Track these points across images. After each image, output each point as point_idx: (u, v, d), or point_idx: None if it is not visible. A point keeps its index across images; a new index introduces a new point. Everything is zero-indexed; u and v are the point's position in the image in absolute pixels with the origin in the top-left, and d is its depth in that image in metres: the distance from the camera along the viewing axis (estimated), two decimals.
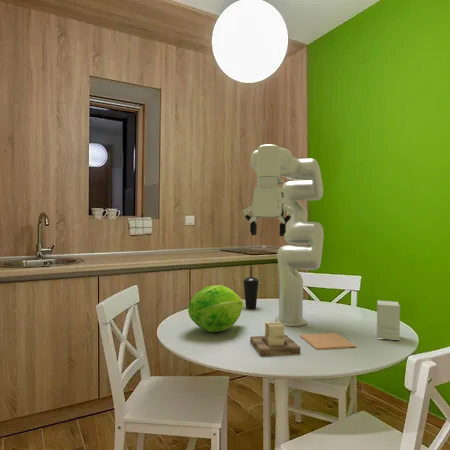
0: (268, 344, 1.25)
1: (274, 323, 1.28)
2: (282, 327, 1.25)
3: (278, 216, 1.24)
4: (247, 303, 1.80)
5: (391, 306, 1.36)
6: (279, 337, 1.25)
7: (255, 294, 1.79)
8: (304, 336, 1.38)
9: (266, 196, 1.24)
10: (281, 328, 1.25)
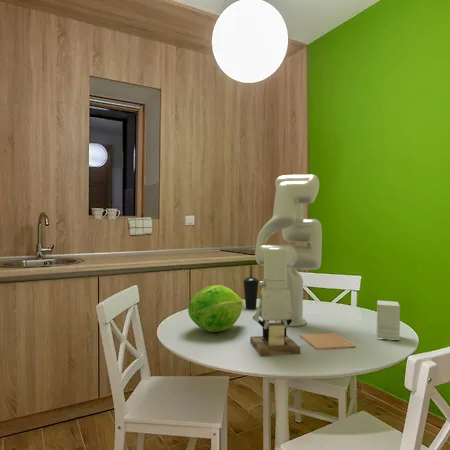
0: (268, 344, 1.25)
1: (274, 323, 1.28)
2: (282, 327, 1.25)
3: None
4: (247, 303, 1.80)
5: (391, 306, 1.36)
6: (279, 337, 1.25)
7: (255, 294, 1.79)
8: (304, 336, 1.38)
9: None
10: (281, 328, 1.25)
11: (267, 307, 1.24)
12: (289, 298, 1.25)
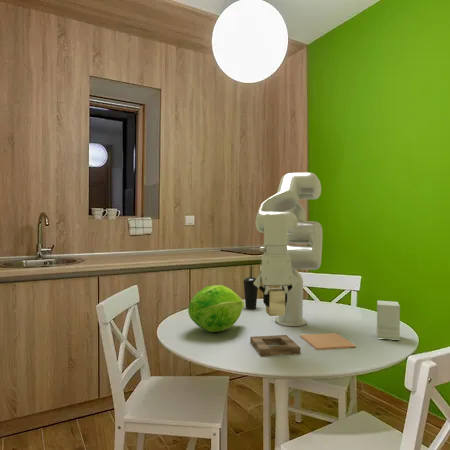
0: (269, 309, 1.26)
1: (274, 289, 1.28)
2: (283, 292, 1.25)
3: None
4: (247, 303, 1.80)
5: (391, 306, 1.36)
6: (280, 302, 1.25)
7: (255, 294, 1.79)
8: (304, 336, 1.38)
9: None
10: (281, 294, 1.25)
11: (268, 272, 1.24)
12: (290, 263, 1.25)
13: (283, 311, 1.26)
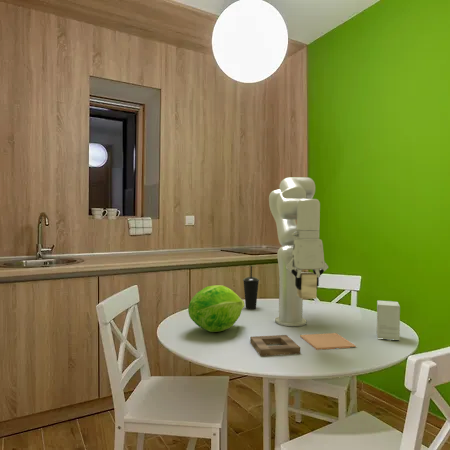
0: (301, 292, 1.29)
1: (306, 273, 1.32)
2: (315, 276, 1.29)
3: None
4: (247, 303, 1.80)
5: (391, 306, 1.36)
6: (312, 285, 1.29)
7: (255, 294, 1.79)
8: (304, 336, 1.38)
9: None
10: (313, 277, 1.29)
11: (300, 256, 1.28)
12: (322, 248, 1.29)
13: (315, 294, 1.29)
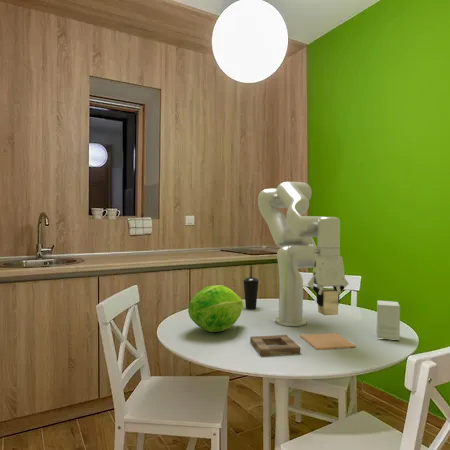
0: (323, 309, 1.31)
1: (327, 289, 1.34)
2: (336, 292, 1.31)
3: None
4: (247, 303, 1.80)
5: (391, 306, 1.36)
6: (334, 302, 1.31)
7: (255, 294, 1.79)
8: (304, 336, 1.38)
9: None
10: (335, 294, 1.31)
11: (322, 273, 1.30)
12: (342, 265, 1.32)
13: (336, 311, 1.31)
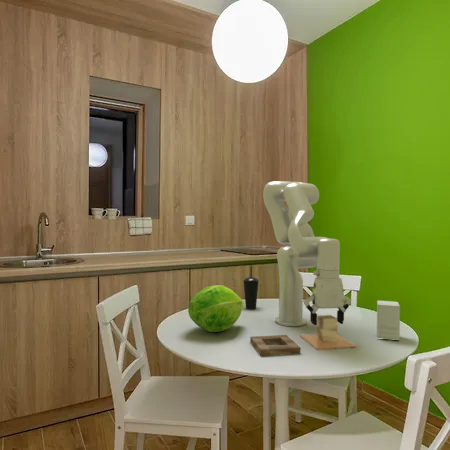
0: (322, 336, 1.32)
1: (326, 316, 1.35)
2: (335, 320, 1.32)
3: None
4: (247, 303, 1.80)
5: (391, 306, 1.36)
6: (333, 329, 1.32)
7: (255, 294, 1.79)
8: (304, 336, 1.38)
9: None
10: (334, 321, 1.32)
11: (321, 295, 1.30)
12: (342, 287, 1.32)
13: (335, 338, 1.32)
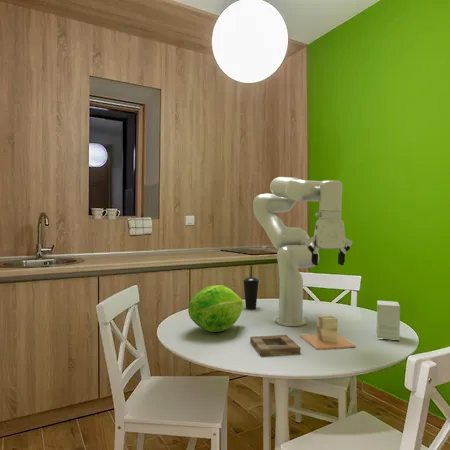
0: (322, 336, 1.32)
1: (326, 316, 1.35)
2: (335, 320, 1.32)
3: None
4: (247, 303, 1.80)
5: (391, 306, 1.36)
6: (333, 329, 1.32)
7: (255, 294, 1.79)
8: (304, 336, 1.38)
9: None
10: (334, 321, 1.32)
11: (323, 236, 1.32)
12: (343, 228, 1.33)
13: (335, 338, 1.32)
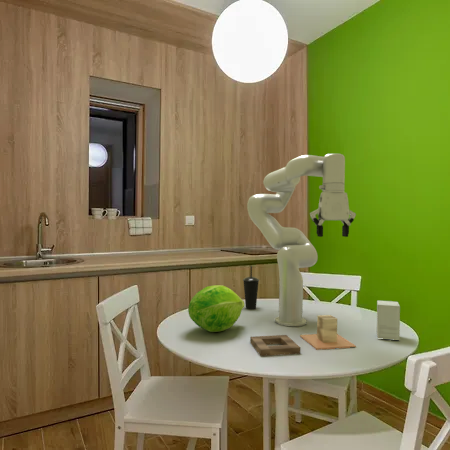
0: (322, 336, 1.32)
1: (326, 316, 1.35)
2: (335, 320, 1.32)
3: None
4: (247, 303, 1.80)
5: (391, 306, 1.36)
6: (333, 329, 1.32)
7: (255, 294, 1.79)
8: (304, 336, 1.38)
9: None
10: (334, 321, 1.32)
11: (327, 207, 1.35)
12: (347, 200, 1.37)
13: (335, 338, 1.32)
